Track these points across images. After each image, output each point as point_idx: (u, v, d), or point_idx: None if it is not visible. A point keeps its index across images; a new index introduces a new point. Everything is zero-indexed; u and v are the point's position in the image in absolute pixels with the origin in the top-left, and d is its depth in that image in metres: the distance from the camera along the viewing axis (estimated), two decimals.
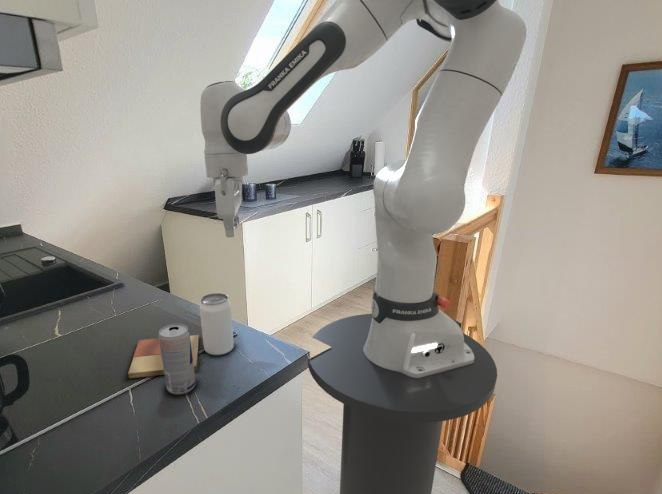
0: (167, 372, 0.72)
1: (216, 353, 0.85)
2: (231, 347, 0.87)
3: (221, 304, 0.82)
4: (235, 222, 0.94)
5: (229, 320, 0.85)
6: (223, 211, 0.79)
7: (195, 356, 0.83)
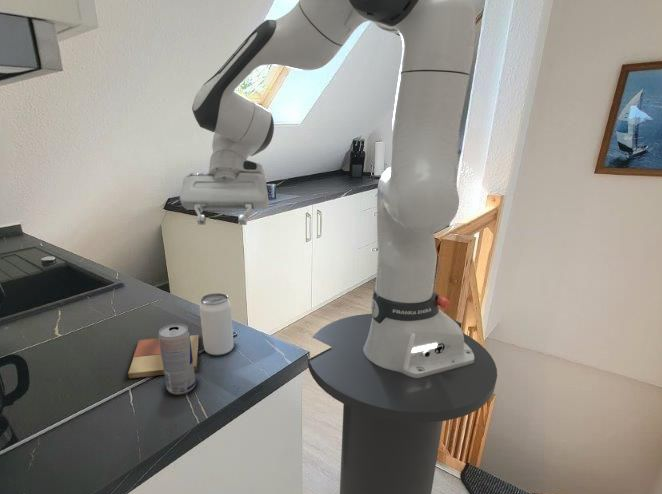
0: (167, 372, 0.72)
1: (216, 353, 0.85)
2: (231, 347, 0.87)
3: (221, 304, 0.82)
4: None
5: (229, 320, 0.85)
6: None
7: (195, 356, 0.83)
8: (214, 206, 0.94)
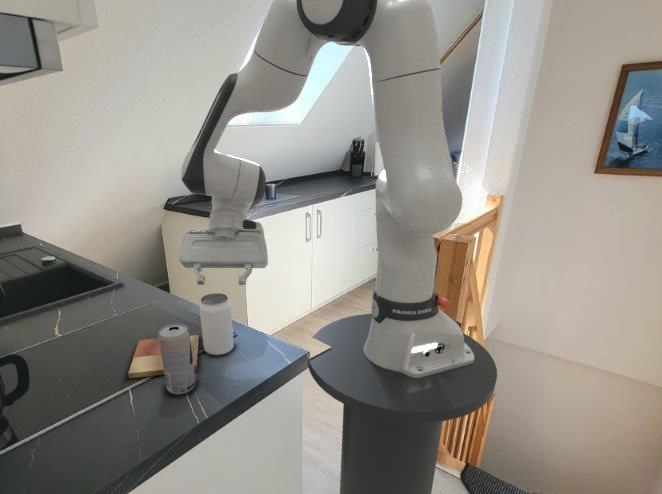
0: (167, 372, 0.72)
1: (216, 353, 0.85)
2: (231, 347, 0.87)
3: (221, 304, 0.82)
4: (239, 277, 0.90)
5: (229, 320, 0.85)
6: None
7: (195, 356, 0.83)
8: (213, 265, 0.93)
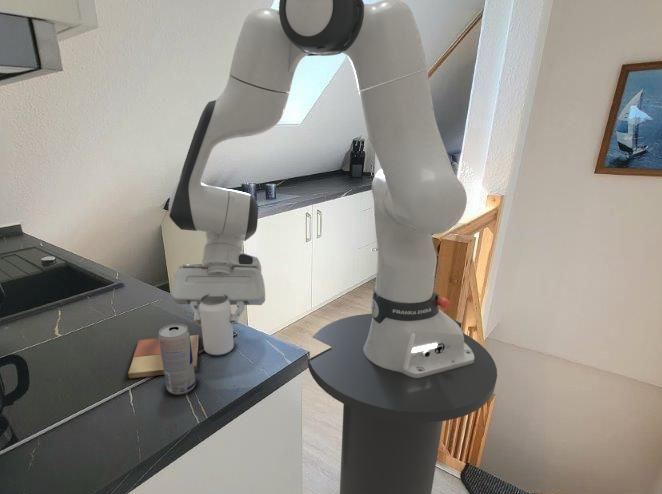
0: (167, 372, 0.72)
1: (216, 353, 0.85)
2: (231, 347, 0.87)
3: (221, 304, 0.82)
4: None
5: (229, 320, 0.85)
6: None
7: (195, 356, 0.83)
8: None
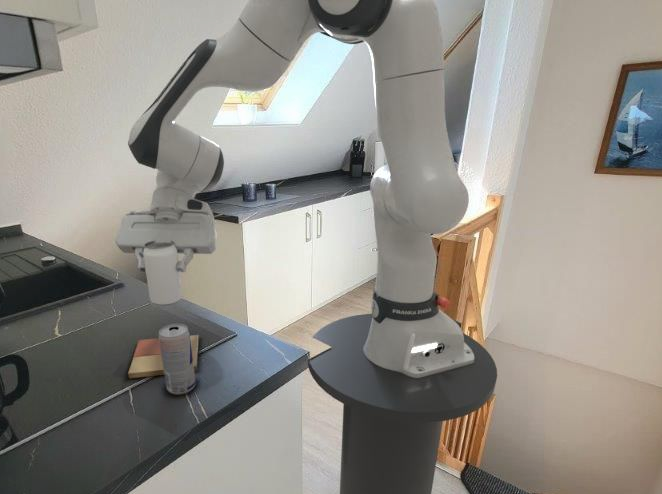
0: (167, 372, 0.72)
1: (161, 303, 0.80)
2: (178, 297, 0.82)
3: (165, 249, 0.77)
4: None
5: (175, 267, 0.80)
6: None
7: (195, 356, 0.83)
8: None
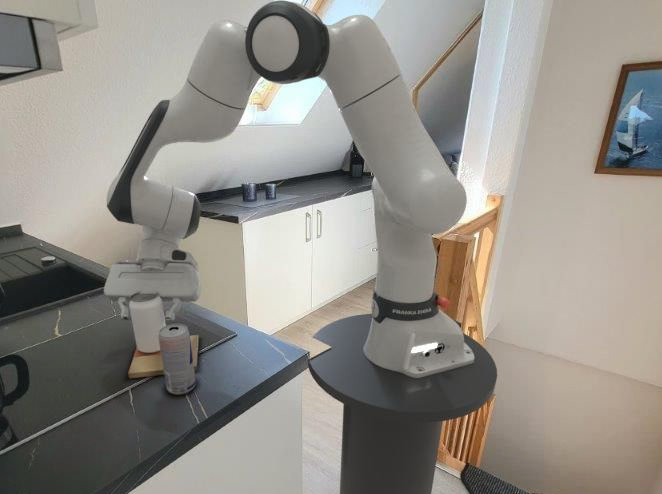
0: (167, 372, 0.72)
1: (147, 351, 0.84)
2: None
3: (150, 301, 0.81)
4: None
5: (160, 317, 0.83)
6: None
7: (195, 356, 0.83)
8: None
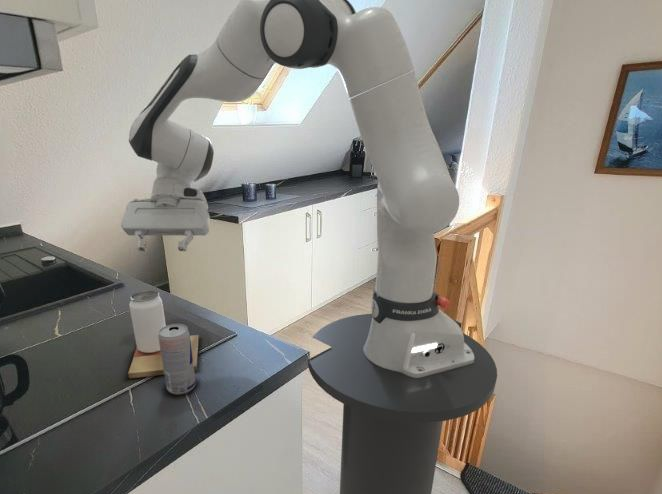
0: (167, 372, 0.72)
1: (147, 351, 0.84)
2: None
3: (150, 301, 0.81)
4: None
5: (160, 317, 0.83)
6: None
7: (195, 356, 0.83)
8: (156, 232, 0.95)
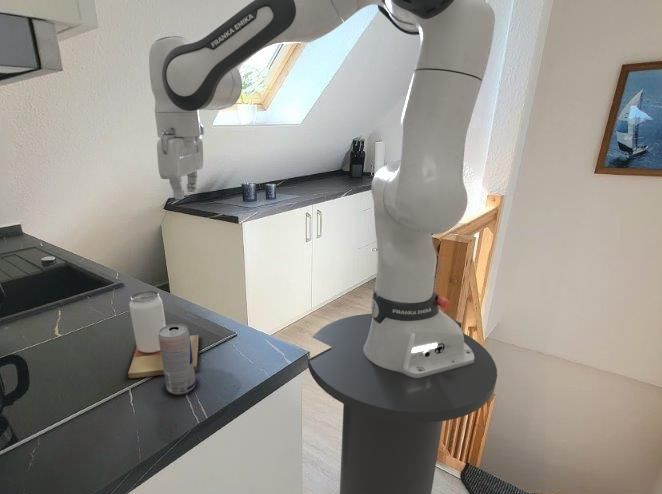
0: (167, 372, 0.72)
1: (147, 351, 0.84)
2: None
3: (150, 301, 0.81)
4: (192, 186, 0.93)
5: (160, 317, 0.83)
6: (165, 171, 0.78)
7: (195, 356, 0.83)
8: None
